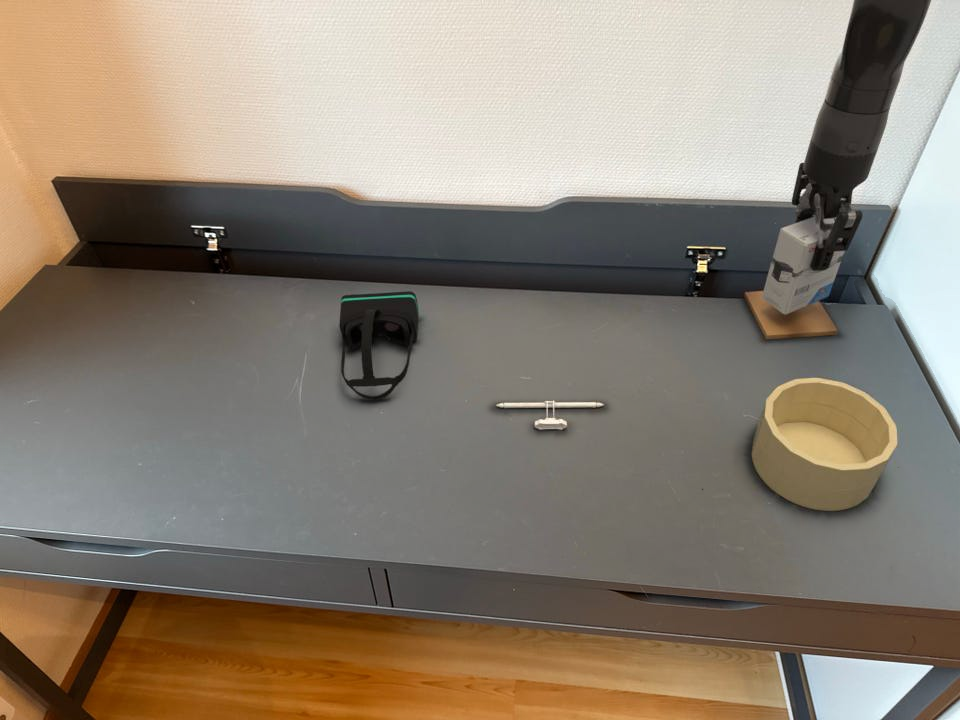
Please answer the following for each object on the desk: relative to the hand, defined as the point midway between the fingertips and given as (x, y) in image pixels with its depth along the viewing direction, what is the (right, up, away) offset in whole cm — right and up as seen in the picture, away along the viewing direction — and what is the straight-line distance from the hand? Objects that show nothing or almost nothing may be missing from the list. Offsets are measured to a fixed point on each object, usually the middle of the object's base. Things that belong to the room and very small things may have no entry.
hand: (808, 253), depth 96 cm
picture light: (-36, -22, -5) cm, 42 cm away
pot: (-5, -27, -12) cm, 30 cm away
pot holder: (0, -8, +7) cm, 11 cm away
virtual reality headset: (-59, -15, +5) cm, 61 cm away
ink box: (0, -6, +5) cm, 8 cm away
